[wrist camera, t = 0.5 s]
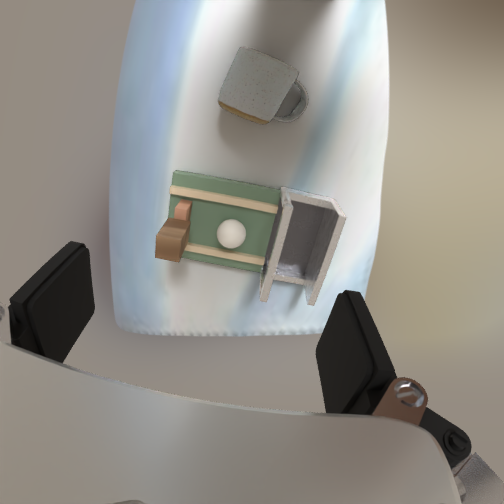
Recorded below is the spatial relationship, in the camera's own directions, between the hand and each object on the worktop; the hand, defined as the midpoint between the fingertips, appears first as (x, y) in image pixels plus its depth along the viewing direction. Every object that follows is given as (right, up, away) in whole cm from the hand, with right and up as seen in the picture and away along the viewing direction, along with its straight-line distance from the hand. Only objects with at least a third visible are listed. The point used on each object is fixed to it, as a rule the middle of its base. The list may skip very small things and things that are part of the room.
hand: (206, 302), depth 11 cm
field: (-3, +6, +35) cm, 35 cm away
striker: (-8, +6, +33) cm, 34 cm away
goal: (+8, +4, +35) cm, 36 cm away
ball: (-1, +4, +32) cm, 32 cm away
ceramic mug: (+4, +23, +26) cm, 35 cm away
